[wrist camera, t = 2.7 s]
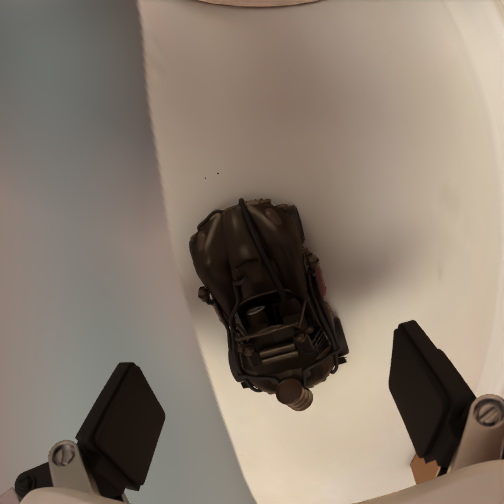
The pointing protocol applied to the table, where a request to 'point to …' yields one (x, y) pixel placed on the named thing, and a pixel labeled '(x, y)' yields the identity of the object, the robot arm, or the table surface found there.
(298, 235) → the toy car
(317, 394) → the table surface
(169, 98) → the table surface
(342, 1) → the table surface
